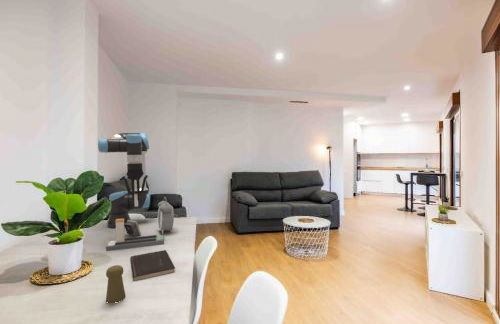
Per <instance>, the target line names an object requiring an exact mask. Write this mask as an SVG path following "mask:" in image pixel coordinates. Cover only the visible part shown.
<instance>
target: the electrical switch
mask: <svg viewBox="0 0 500 324" xmlns="http://www.w3.org/2000/svg"><path fill="white" fill-rule="evenodd" d="M124 226H125V227H124V230H125V232H126V235H128V236H130V237H141V235H142V234H141V232H142V231H141V230H140V227H139V223H138V222H137V221H135V220H127V222H126V223H125V224H124Z"/></svg>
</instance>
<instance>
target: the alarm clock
mask: <svg viewBox="0 0 500 324" xmlns="http://www.w3.org/2000/svg"><path fill="white" fill-rule="evenodd" d="M157 208H158V210H157V229H158V231H159V232H160V231H161V235H164V232H165V231H169V232H170V231H172V230H173V227H174V222H175V221H174V216H175V215H174V214H175V213H174V211H175V210H174V207H173V205H171V204H170V203H169V202H168V201H167V198H166V197H165V196H163V199H162V201H159V202H158V204H157Z"/></svg>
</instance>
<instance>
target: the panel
mask: <svg viewBox="0 0 500 324" xmlns="http://www.w3.org/2000/svg"><path fill="white" fill-rule="evenodd" d="M156 245H157V246H159V245H165V235H164V234H161V235H157V234H152V235H143V236H141V235H140V236H136V237H133V236H131V237H126V238H125V241H124V242H116V239H115V240H110V241H109V242H108V243H107V245H106V247H105V251H106V252H109V251H116V250H126V249H134V248H135V249H136V248H143V247H150V246H151V247H153V246H156Z"/></svg>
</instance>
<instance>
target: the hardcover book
mask: <svg viewBox="0 0 500 324" xmlns="http://www.w3.org/2000/svg"><path fill="white" fill-rule="evenodd" d="M129 259H130V267H131V274H132V281H133V282H134V281H139V280H143V279H148V278H152V277H157V276H161V275H166V274H171V273H174V272H175V270H176V267H175V265H174V263H173V261H172V259H171V257H170V256H169V253H168V251H167V250H166V249H164V250H158V251H152V252H147V253H143V254H137V255H131V256H130V258H129Z"/></svg>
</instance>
